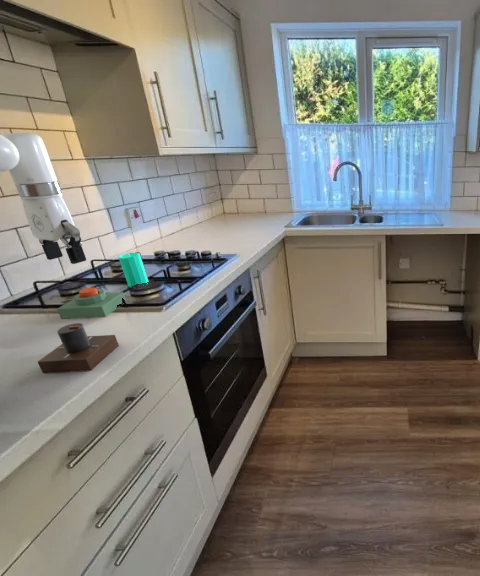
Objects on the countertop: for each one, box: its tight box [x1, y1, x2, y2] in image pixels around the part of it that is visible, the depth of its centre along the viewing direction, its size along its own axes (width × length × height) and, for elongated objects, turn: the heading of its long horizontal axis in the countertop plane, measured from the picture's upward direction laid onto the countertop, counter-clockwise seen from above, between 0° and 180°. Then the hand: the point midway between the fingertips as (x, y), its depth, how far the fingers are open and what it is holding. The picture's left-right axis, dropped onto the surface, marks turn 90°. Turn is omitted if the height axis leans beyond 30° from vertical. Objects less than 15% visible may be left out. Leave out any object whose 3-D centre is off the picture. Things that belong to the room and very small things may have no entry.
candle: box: [118, 249, 149, 288], centre depth 121 cm, size 6×6×12 cm
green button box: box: [56, 289, 127, 320], centre depth 104 cm, size 12×10×5 cm
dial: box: [57, 322, 90, 353], centre depth 80 cm, size 4×4×5 cm
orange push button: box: [78, 286, 98, 298], centre depth 103 cm, size 4×4×2 cm
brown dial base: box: [37, 334, 120, 374], centre depth 82 cm, size 10×10×3 cm
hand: (67, 260), depth 91 cm, fingers open, 9 cm apart
